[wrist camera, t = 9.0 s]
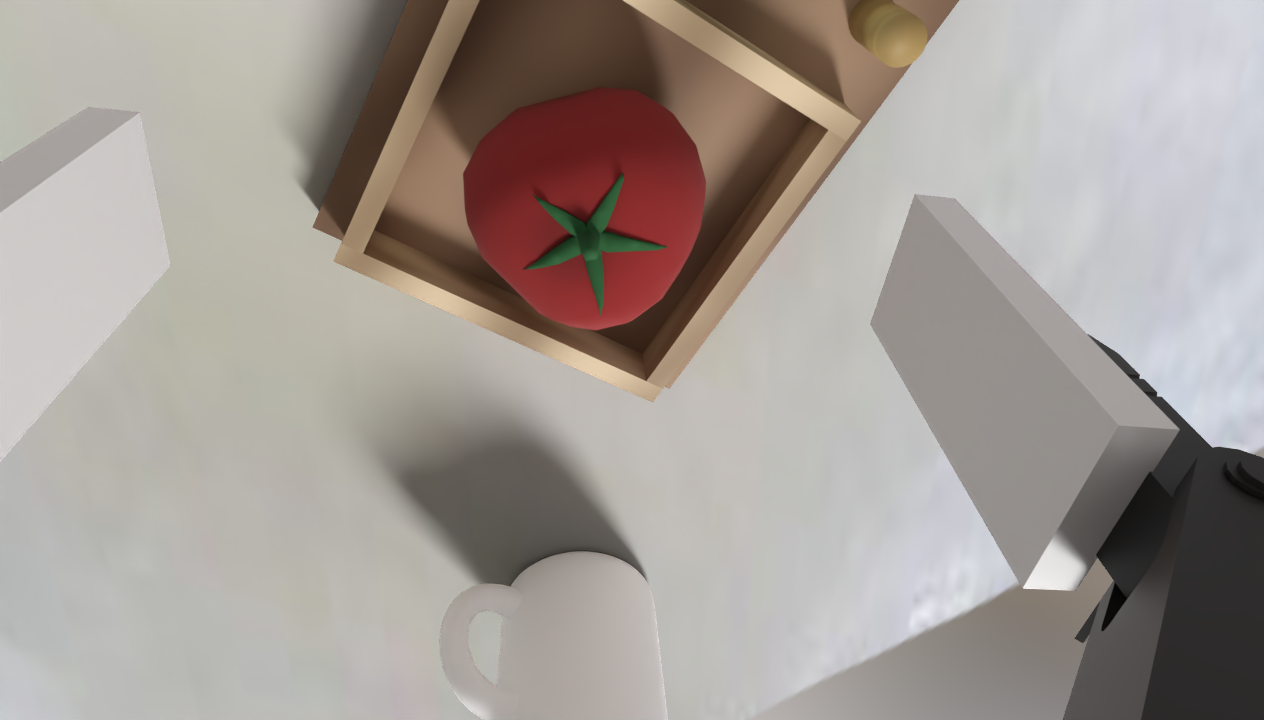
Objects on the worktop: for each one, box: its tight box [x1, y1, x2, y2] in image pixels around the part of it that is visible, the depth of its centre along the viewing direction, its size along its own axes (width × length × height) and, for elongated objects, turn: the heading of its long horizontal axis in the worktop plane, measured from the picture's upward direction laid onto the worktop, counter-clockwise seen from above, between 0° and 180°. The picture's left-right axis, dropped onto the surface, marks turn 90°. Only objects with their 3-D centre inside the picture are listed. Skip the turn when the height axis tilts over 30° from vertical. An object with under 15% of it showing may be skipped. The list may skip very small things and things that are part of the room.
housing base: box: [313, 0, 959, 402], centre depth 27 cm, size 16×24×4 cm, turn 149°
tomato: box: [463, 87, 706, 330], centre depth 27 cm, size 8×8×7 cm
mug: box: [439, 551, 668, 720], centre depth 40 cm, size 12×8×10 cm
